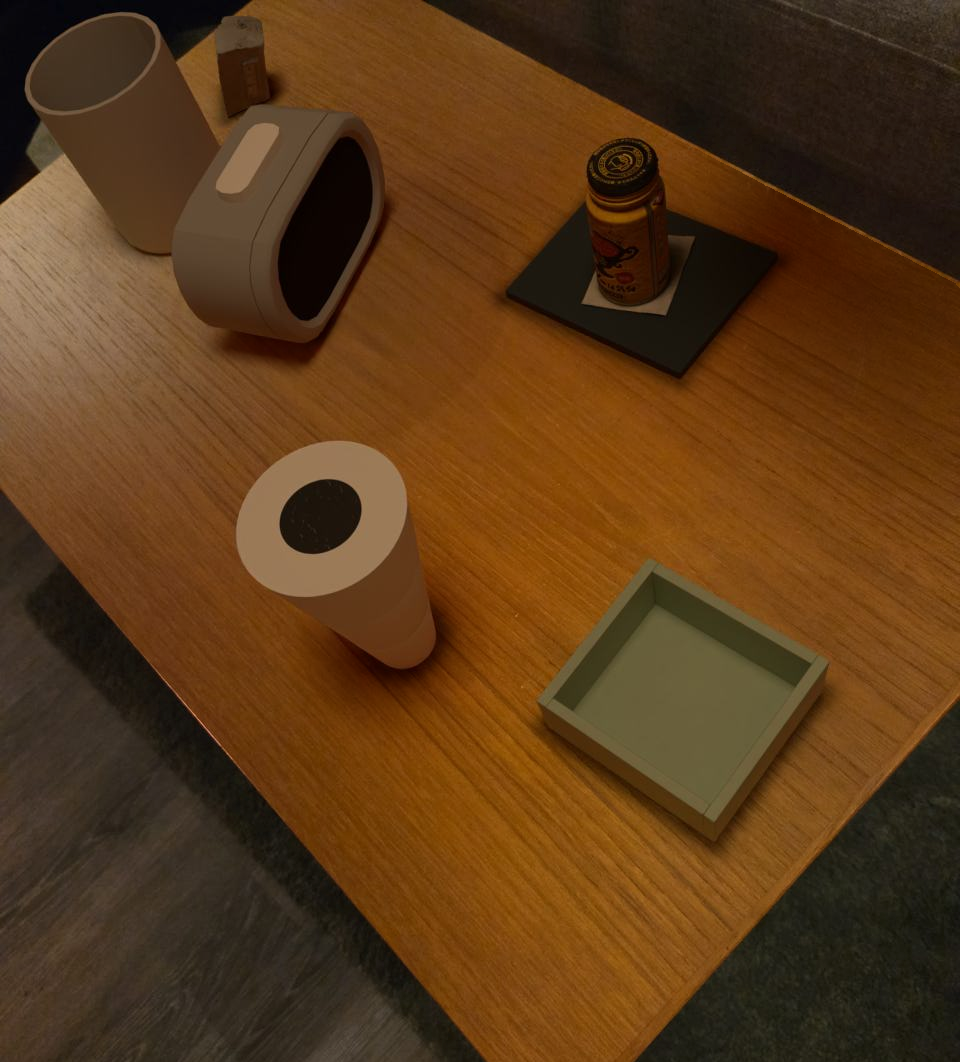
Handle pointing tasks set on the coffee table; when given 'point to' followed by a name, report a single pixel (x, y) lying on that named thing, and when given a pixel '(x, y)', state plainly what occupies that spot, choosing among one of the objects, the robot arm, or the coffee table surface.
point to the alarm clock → (280, 222)
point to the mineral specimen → (241, 62)
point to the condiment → (631, 230)
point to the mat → (659, 340)
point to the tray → (683, 696)
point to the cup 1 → (124, 122)
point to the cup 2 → (341, 547)
